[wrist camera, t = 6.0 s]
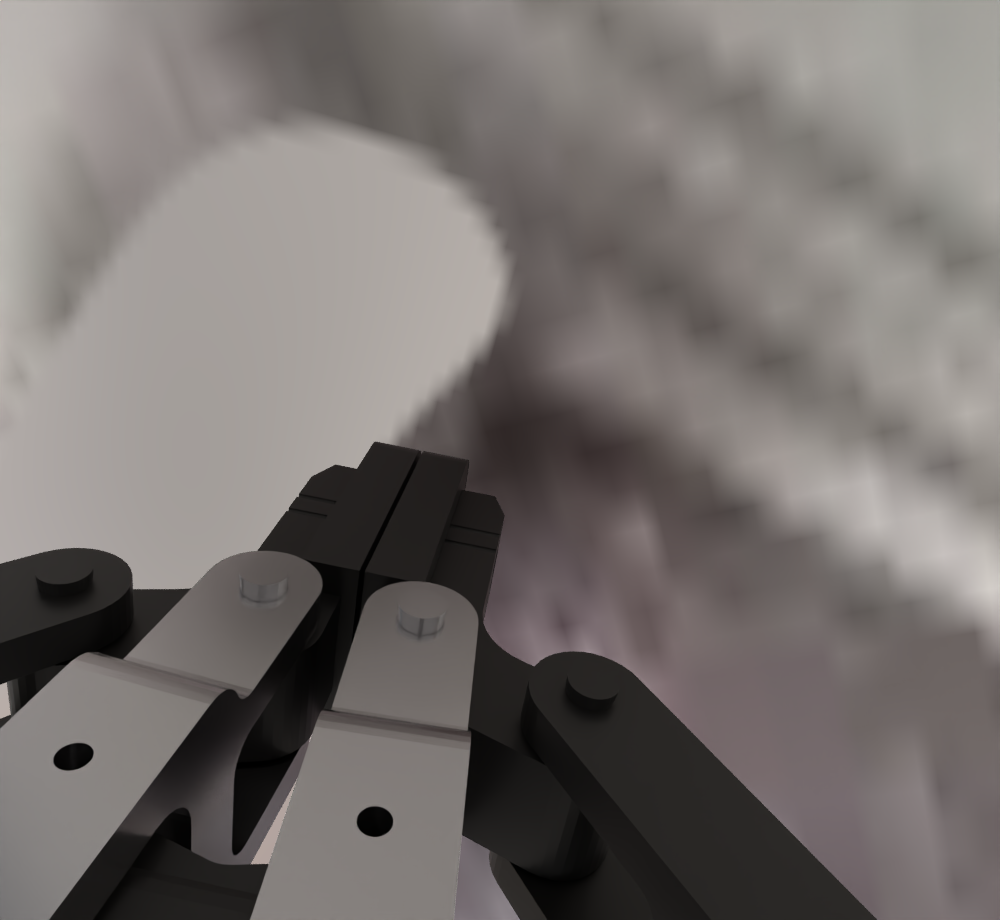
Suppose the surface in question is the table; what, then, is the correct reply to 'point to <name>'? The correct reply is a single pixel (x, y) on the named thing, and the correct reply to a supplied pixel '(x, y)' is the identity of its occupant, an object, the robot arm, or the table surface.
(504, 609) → the table surface
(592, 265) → the table surface
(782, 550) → the table surface
